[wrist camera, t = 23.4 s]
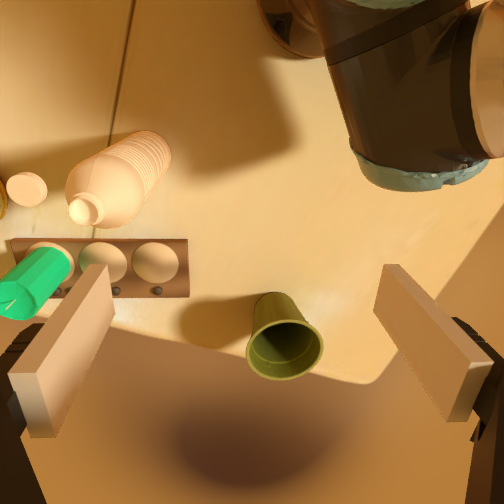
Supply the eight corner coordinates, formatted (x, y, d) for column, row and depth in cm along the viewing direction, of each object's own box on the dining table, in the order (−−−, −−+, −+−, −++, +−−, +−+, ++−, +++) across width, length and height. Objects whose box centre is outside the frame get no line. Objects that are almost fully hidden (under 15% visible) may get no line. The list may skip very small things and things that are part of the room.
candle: (79, 264, 54) (42, 310, 43) (55, 287, 55) (13, 336, 44) (45, 238, 51) (-3, 279, 41) (21, 262, 53) (-32, 308, 42)
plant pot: (259, 343, 65) (265, 391, 55) (230, 297, 60) (232, 339, 50) (317, 319, 64) (334, 363, 54) (292, 269, 59) (307, 307, 49)
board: (15, 237, 53) (7, 243, 51) (187, 238, 55) (186, 244, 53) (31, 293, 57) (24, 300, 55) (190, 292, 59) (188, 299, 57)
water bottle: (177, 142, 48) (137, 191, 26) (162, 184, 51) (113, 262, 28) (115, 114, 46) (13, 142, 24) (103, 159, 49) (-2, 223, 26)
